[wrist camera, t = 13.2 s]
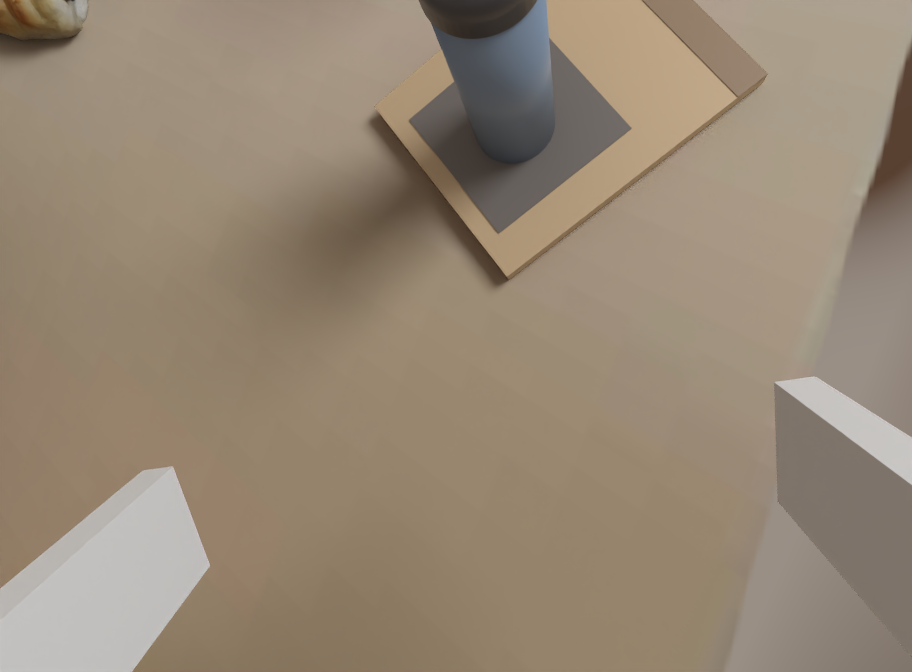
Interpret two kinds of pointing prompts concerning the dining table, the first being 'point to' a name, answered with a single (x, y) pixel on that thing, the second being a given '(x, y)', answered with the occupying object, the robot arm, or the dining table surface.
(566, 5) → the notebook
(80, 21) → the pastry
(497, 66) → the blue bottle
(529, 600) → the dining table surface
